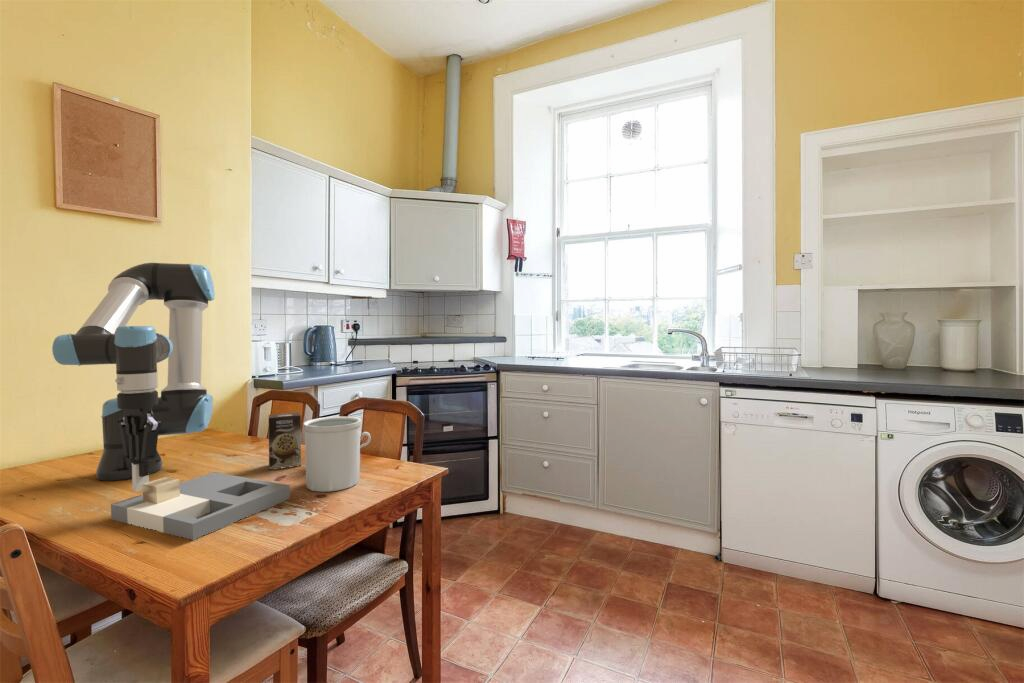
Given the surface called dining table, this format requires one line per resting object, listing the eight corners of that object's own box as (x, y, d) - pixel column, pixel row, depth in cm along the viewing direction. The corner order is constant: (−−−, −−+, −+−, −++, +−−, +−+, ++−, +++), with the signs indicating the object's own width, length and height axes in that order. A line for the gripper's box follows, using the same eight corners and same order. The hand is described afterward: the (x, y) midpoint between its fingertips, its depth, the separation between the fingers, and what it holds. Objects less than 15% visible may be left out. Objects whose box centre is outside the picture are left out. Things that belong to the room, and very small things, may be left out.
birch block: (143, 500, 105) (142, 483, 105) (166, 493, 110) (165, 477, 110) (156, 504, 103) (156, 486, 103) (179, 496, 108) (179, 479, 108)
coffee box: (268, 470, 138) (267, 417, 137) (269, 464, 144) (267, 414, 143) (302, 466, 142) (300, 415, 142) (300, 460, 148) (299, 411, 147)
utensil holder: (325, 473, 135) (324, 414, 135) (371, 476, 132) (370, 416, 132) (292, 490, 121) (291, 425, 120) (342, 494, 118) (341, 427, 117)
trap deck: (111, 519, 104) (110, 504, 103) (214, 484, 126) (214, 472, 126) (193, 540, 93) (192, 523, 93) (290, 498, 115) (289, 485, 115)
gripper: (102, 391, 107) (106, 490, 108) (136, 394, 102) (140, 498, 103) (138, 387, 114) (141, 480, 114) (172, 390, 109) (175, 487, 110)
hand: (141, 489), depth 109 cm, fingers closed
